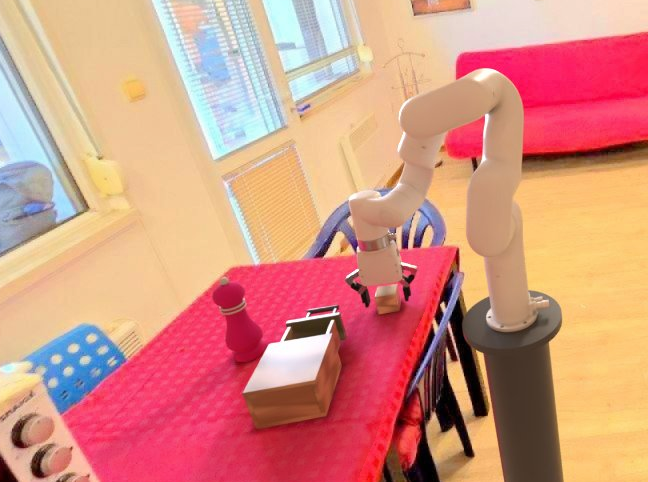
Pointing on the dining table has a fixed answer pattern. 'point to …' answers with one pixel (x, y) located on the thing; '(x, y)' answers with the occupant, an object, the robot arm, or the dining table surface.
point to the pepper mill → (238, 321)
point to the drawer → (317, 325)
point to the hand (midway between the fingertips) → (387, 301)
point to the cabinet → (293, 381)
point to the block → (388, 299)
